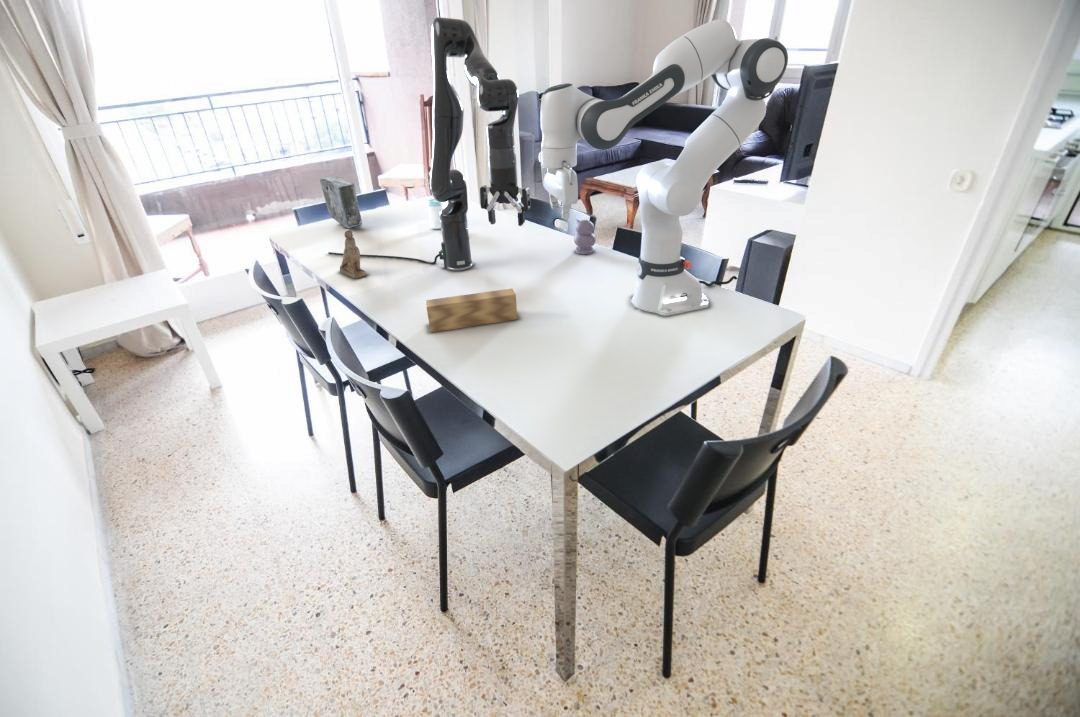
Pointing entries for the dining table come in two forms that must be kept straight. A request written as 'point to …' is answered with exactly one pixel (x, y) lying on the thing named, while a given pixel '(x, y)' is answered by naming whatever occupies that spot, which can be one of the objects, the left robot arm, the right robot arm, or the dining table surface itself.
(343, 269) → the brown carved statuette
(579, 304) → the dining table surface
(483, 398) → the dining table surface
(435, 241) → the dining table surface
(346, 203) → the concrete block
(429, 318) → the bar
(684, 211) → the right robot arm
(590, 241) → the cat figurine
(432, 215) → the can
